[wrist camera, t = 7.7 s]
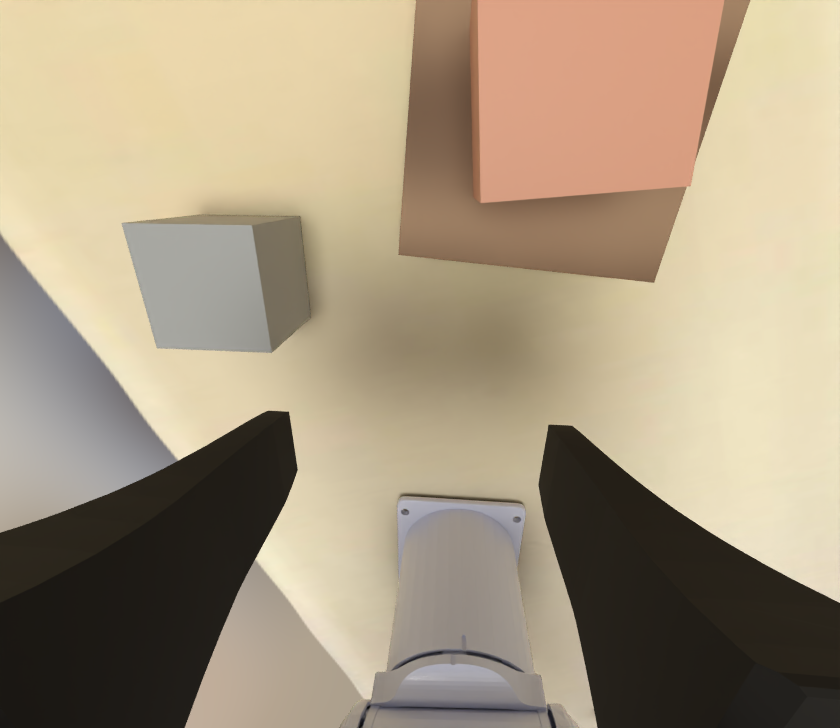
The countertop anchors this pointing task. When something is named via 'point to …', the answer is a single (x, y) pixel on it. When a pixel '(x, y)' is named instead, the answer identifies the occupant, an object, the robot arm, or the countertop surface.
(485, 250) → the walnut block
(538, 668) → the countertop surface
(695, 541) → the robot arm
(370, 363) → the countertop surface
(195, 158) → the countertop surface
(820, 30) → the countertop surface
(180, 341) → the grey cube
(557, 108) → the salmon pink cube
